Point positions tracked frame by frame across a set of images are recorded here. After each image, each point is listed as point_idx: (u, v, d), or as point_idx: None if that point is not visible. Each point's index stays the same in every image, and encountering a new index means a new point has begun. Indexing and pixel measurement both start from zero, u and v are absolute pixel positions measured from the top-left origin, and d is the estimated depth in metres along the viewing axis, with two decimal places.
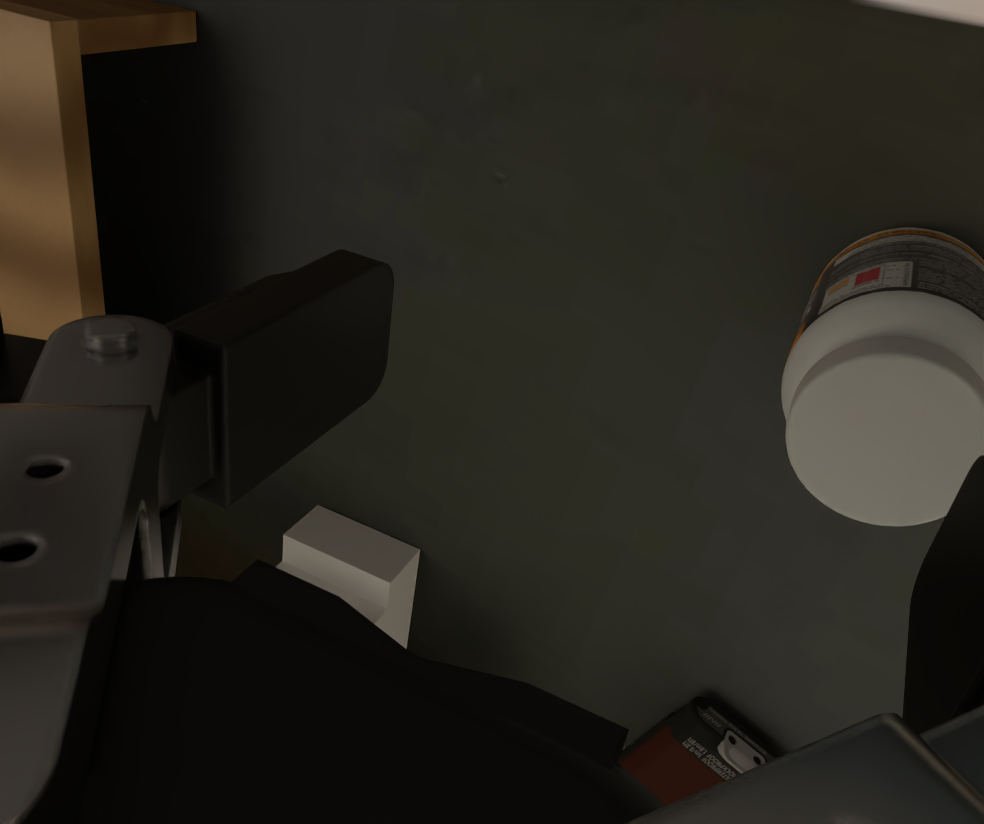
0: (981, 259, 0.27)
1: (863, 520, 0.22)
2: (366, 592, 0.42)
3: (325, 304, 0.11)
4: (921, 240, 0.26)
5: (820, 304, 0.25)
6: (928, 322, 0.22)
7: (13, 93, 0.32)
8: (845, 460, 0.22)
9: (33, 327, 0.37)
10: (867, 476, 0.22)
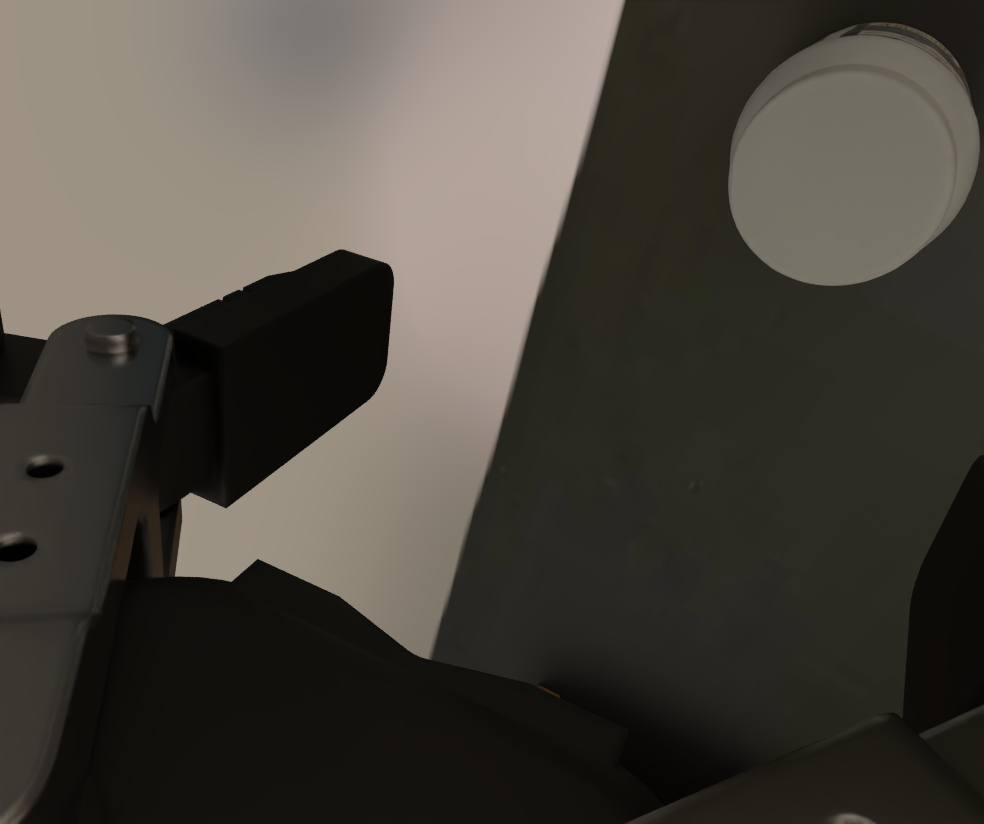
0: None
1: (943, 206, 0.19)
2: None
3: (325, 304, 0.11)
4: None
5: None
6: None
7: None
8: (856, 225, 0.19)
9: None
10: (879, 203, 0.19)
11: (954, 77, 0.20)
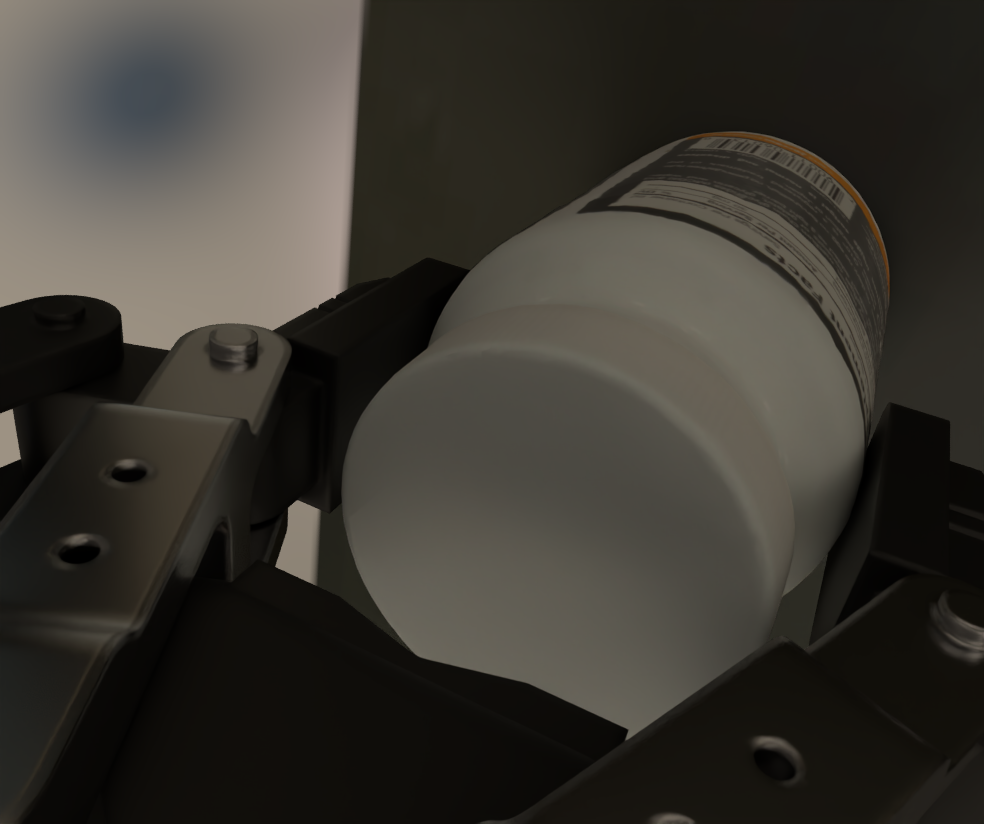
0: None
1: (757, 632, 0.08)
2: None
3: (422, 312, 0.11)
4: None
5: None
6: None
7: None
8: (590, 641, 0.09)
9: None
10: (625, 606, 0.09)
11: (795, 296, 0.10)
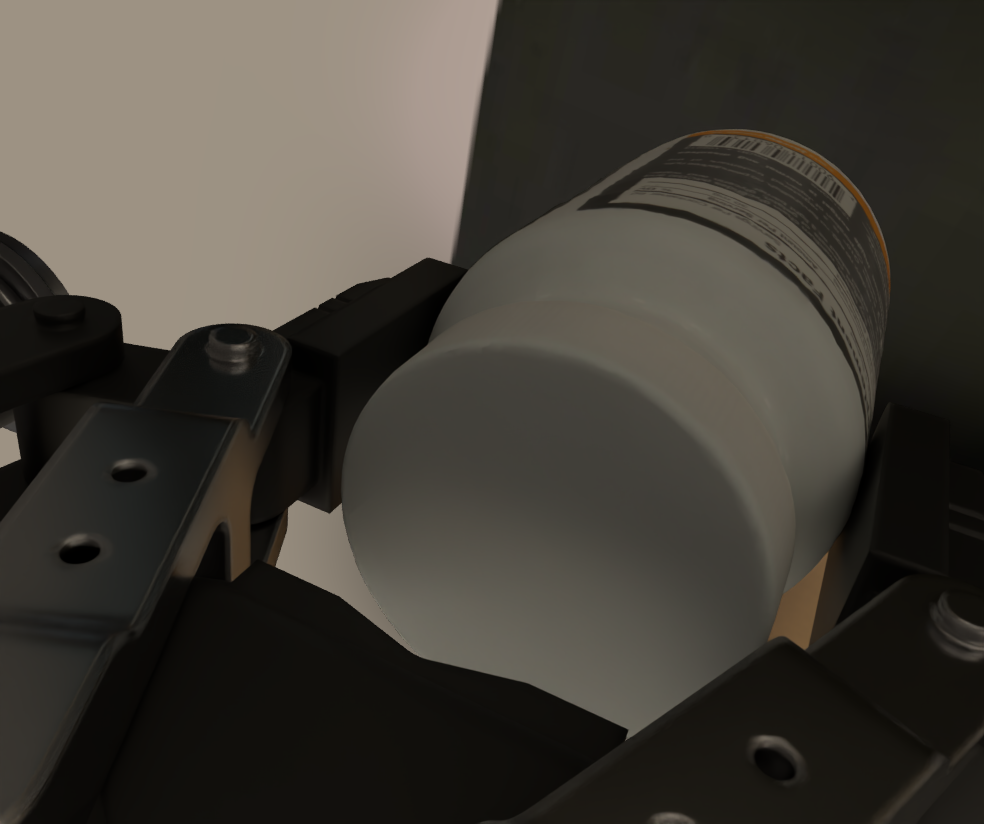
0: None
1: (758, 629, 0.08)
2: None
3: (421, 312, 0.11)
4: None
5: None
6: None
7: None
8: (591, 638, 0.09)
9: None
10: (626, 604, 0.09)
11: (796, 292, 0.10)
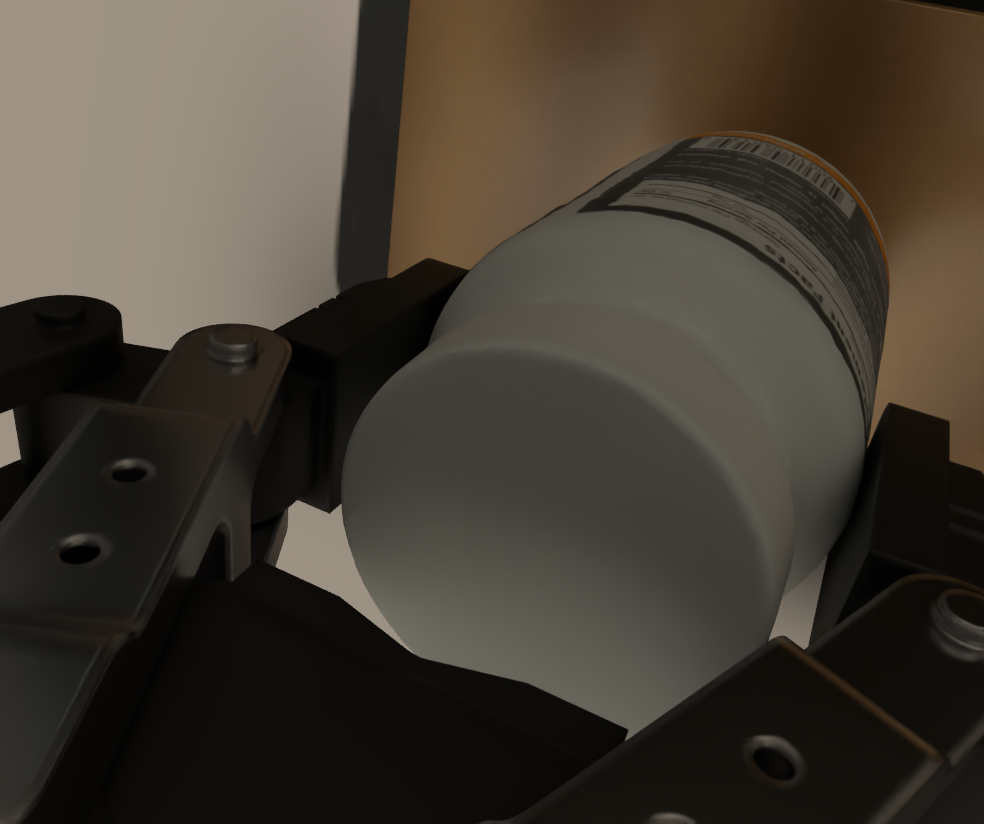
0: None
1: (757, 632, 0.08)
2: None
3: (422, 312, 0.11)
4: None
5: None
6: None
7: (519, 47, 0.19)
8: (591, 641, 0.09)
9: (973, 189, 0.17)
10: (625, 607, 0.09)
11: (795, 295, 0.10)
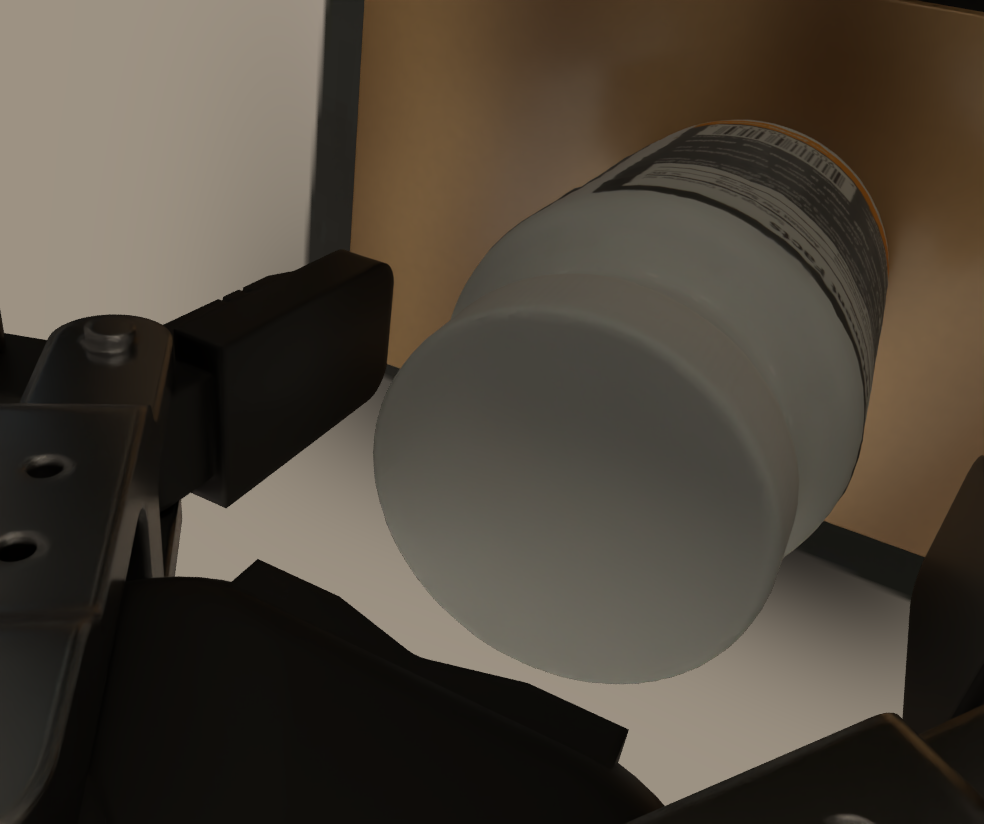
0: None
1: (764, 575, 0.09)
2: None
3: (325, 304, 0.11)
4: None
5: None
6: None
7: (480, 50, 0.18)
8: (607, 588, 0.10)
9: (972, 205, 0.15)
10: (640, 555, 0.09)
11: (798, 268, 0.10)
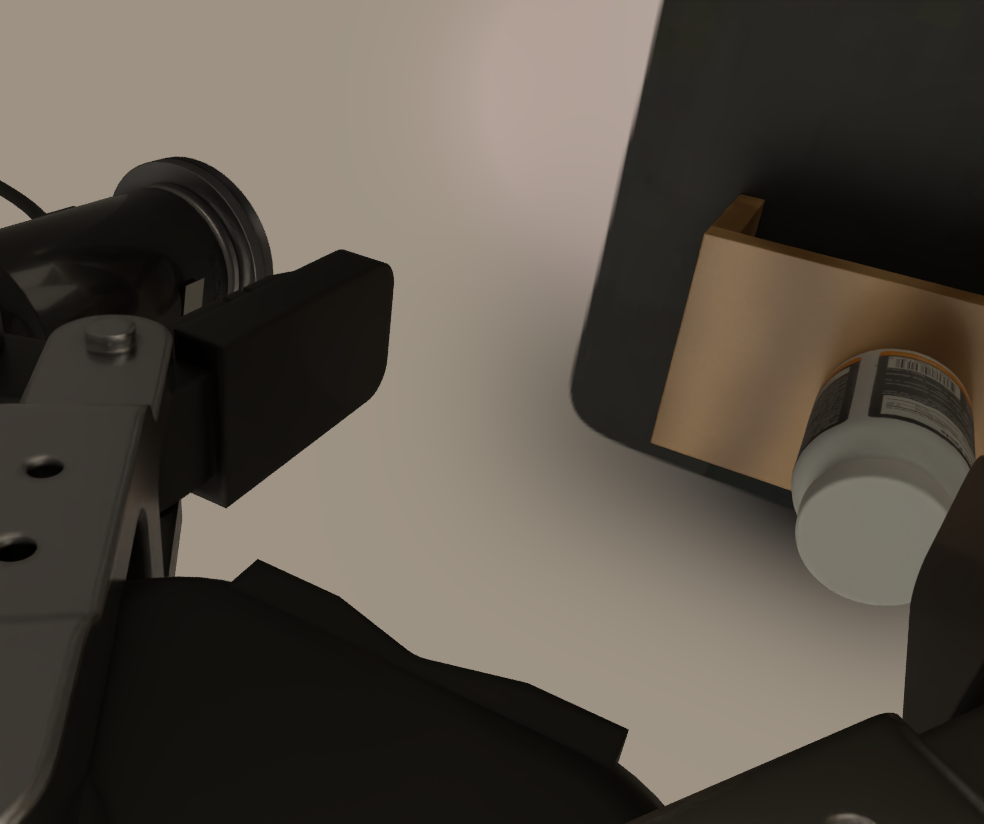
0: (839, 367, 0.34)
1: None
2: None
3: (325, 304, 0.11)
4: None
5: None
6: (804, 481, 0.29)
7: (759, 303, 0.35)
8: (892, 570, 0.27)
9: None
10: (907, 557, 0.27)
11: (955, 450, 0.28)
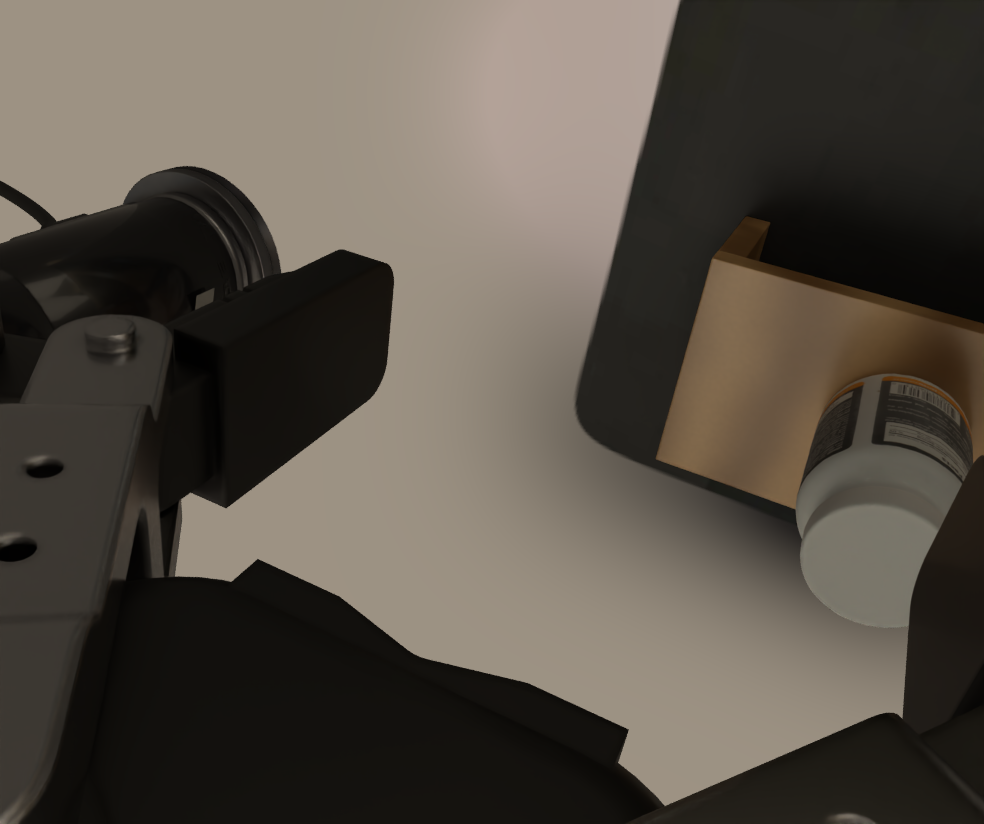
0: (842, 390, 0.35)
1: None
2: None
3: (325, 304, 0.11)
4: None
5: None
6: (809, 505, 0.30)
7: (764, 326, 0.36)
8: (893, 593, 0.28)
9: None
10: (908, 582, 0.28)
11: (955, 478, 0.29)
